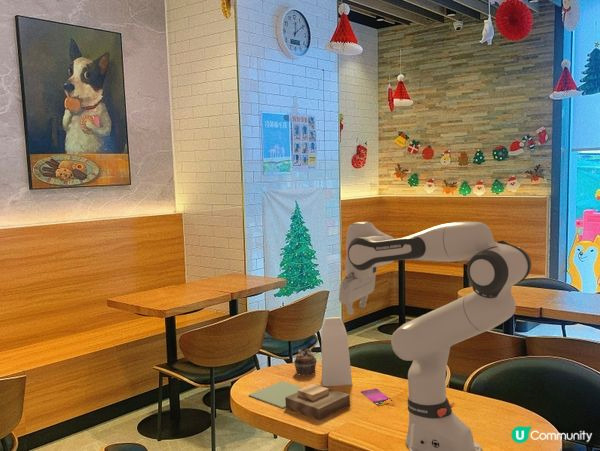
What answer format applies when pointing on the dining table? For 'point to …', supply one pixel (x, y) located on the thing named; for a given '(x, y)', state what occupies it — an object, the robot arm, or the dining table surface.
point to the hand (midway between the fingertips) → (356, 310)
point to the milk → (335, 353)
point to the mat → (276, 393)
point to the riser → (318, 404)
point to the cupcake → (305, 362)
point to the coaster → (313, 392)
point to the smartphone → (375, 396)
